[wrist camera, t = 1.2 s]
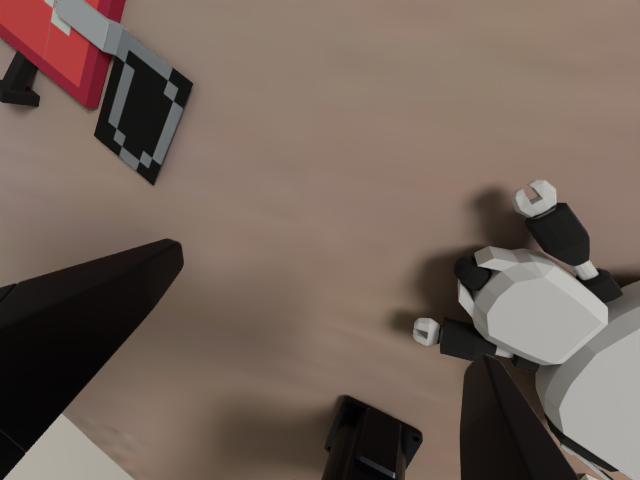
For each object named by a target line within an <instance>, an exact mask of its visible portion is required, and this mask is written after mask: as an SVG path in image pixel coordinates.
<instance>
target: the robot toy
mask: <svg viewBox="0 0 640 480" xmlns="http://www.w3.org/2000/svg"><path fill="white" fill-rule="evenodd" d="M527 185H529V186H530V187H531V188H532V189H533V191H534V192H535V193H536V194H537V196H538V197H536V198H534V199H532V200H530V201H529V199H528V198H527V196H526V195H525V193H524V190H523V188H519V189H518V190H516V191H515V192H514V194H513V196H512V198H511V200H512V203H513V206H514V208H515V211H516V212H518V213H520V214H522V215H524V216H526V217H528V218H527V219H525V225H526V227H527V228H528V230H529V231H530V232H531V234H532V235H533V237H534V238H535V239H536V241H537V242H538V244H539V245H540V246H541V248H542V249H543V251H544V252H546V253H548V254H549V255H551V256H553V257H555V258H557V259H559V260H561V261H563V262H565V263H567V264H569V265H571V266H572V268H573V269H574V271H575V272H576V273H577V275H578V276H576V277H575V276H573V275H572V274H571V273H570V272H568V271H567V270H566V269H565V268H563V267H562V266H561V265H559V264H558V263H556V262H555V261H553V260H552V259H550V258H549V257H548V256H546V255H545V254H543V253H542V252H538V251H533V250H529V249H524V248H522V249H515V250H508V249H503V248H497V247H492V246H487V247H485V248H483V249H481V250H479V251H477V252H475V253H474V254H475V257H472V256H463V257H461V258H460V259H459V260H458V261H457V262H456V264H455V265H454V269H453V271H454V274H455V276H456V277H457V278H458V285H457V286H458V299H459V302H460V304H461V305H462V306H463V307H464V308H465V310H466V311H467V312H468V313H469V314H470V316H471V317H472V319H473V322H474V324H472V323H467V322H462V321H457V320H452V319H447V318H444V321H443V327H442V326H441V325H440V324H438V323H437V322H435V321H434V320H432V319H431V318H418V319H417V320H416V321H415V323H414V331H413V337H414V339H415V341H417V342H419V343H421V344H423V345H425V346H428V345H434V344H439V343H440V353H441V354H445V355H449V356H454V357H458V358H462V359H466V360H470V361H474V360H475V359H476V358H477V357H478V356H479V355H480V354H487V355H490V356H493V355H499V356H503V357H507V358H510V359H511V361H512V362H513V364H514V366H515V367H518V368H522V369H526V370H530V371H535V372H536V391H537V393H538V396H539V399H540V401H541V404H542V407H543V409H544V414H545V417H546V419H547V422H548V425H549V427H550V430H551V431H552V433H553V434H554V435H555V436H556V437H557V439H558V440H559V441H560V445H561V447H562V448H563V449H564V450H566V451H567V452H568V453H569V454H571V455H576V456H577V457H578V458H579V459H580V460H582V461H583V462H584V463H585V464H587V465H588V466H589V467H590V468H591V469H593V470H594V471H595V472H596V473H597V474H599V475H600V476H601V477H602V478H604V479H605V480H613V479H612V478H611V477H610V476H609V475H607V474H606V473H605V472H604V471H602V470H601V469H600V468H599V467H598V466H600V467H602V468H604V469H606V470H608V471H610V472H615V471H621V472H622V473H624V474H625V475H627V476H628V477H630V478H631V479H633V480H640V280H639V281H637V282H634V283H632V284H630V285H627V286H625V287H623V288H620V287H619V286H618V284H617V283H616V281H615V280H614V279H613V277H612V276H611V275H610V273H609V272H608V271H606V270H603V269H599V268H595V267H594V266H593V265H592V263H591V262H590V260H589V252H590V248H589V236H588V233H587V231H586V230H585V228H584V227H583V226H582V224H581V223H580V221H579V220H578V219H577V217H576V216H575V214H574V213H573V212H572V210H571V209H570V208H569V206H568V205H567V203H557V202H556V189H555V188H554V187H553V186H552V185H550V184H549V183H548V182H547V181H545V180H534V181H532V182H530V183H528V184H527ZM417 329H419V330H417ZM595 464H596V465H598V466H596V465H595Z"/></svg>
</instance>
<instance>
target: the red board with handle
mask: <svg viewBox="0 0 640 480" xmlns="http://www.w3.org/2000/svg"><path fill="white" fill-rule="evenodd" d="M124 4H125V0H0V37H2V38H3V39H4V40H5V41H6V42H8V43H9V44H10V45H11V46H12V47H14V48H15V49H16V50H17V52H16V54H15V56H14V58H13V60H12V62H11V64H10V66H9V68H8V70H7V72H6V74H5V76H4V78H3V80H0V101H1V102H3V103H12V104H20V105H29V106H37V107H39V100H40V96H39V95H38V94H36V93H35V92H34V91H33V90H31V89H30V88H29V87H28V86H27V85H28V83H29V81H30V79H31V77H32V75H33V73H34V71H35V70H36V68H37V67H38V68H39V69H40V70H41V71H43V72H44V73H45V74H46V75H47V76H49V77H50V78H51V79H52V80H53V81H55V82H56V83H57V84H58V85H59V86H61V87H62V88H63V89H64V90H65V91H67V92H68V93H69V94H70V95H71V96H73V97H74V98H75V99H76V100H78V101H79V102H80V103H81V104H82V105H84V106H85V107H92V108H97V107H98V103H99V99H100V95H101V91H102V88H103V84H104V80H105V76H106V72H107V69H108V65H109V61H110V57H111V54H113V55H116V56H115V59H114V63H113V67H112V70H111V74H110V78H109V82H108V85H107V89H106V93H105V96H104V100H103V104H102V108H101V111H100V115H99V119H98V122H97V126H96V130H95V133H94V136H95V137H96V138H97V139H99V140H100V141H101V142H102V143H103V144H105V145H106V146H107V147H108V148H109V149H111V150H112V151H113V152H114V153H115V154H116V155H118V156H119V157H120V158H121V159H122V160H124V161H125V162H126V163H127V164H128V165H130V166H131V167H132V168H133V169H134V170H136V171H137V172H138V173H139V174H140V175H142V176H143V177H144V178H145V179H146V180H147V181H149V182H150V183H151V184H152V185H154V182H155V180H156V177H157V175H158V172H159V170H160V167H161V164H162V162H163V159H164V157H165V154H166V152H167V149H168V147H169V144H170V142H171V139H172V136H173V134H174V131H175V129H176V126H177V124H178V121H179V119H180V116H181V114H182V111H183V108H184V106H185V103H186V101H187V98H188V96H189V93H190V91H191V88H192V86H193V83H192V82H190V81H189V80H188V79H187V78H185V77H184V76H183V75H182V74H180V73H179V72H178V71H176V70H175V69H174V68H173V67H171V66H170V65H169V64H168V63H166V62H165V61H164V60H162V59H161V58H160V57H159V56H157V55H156V54H155V53H154V52H152V51H151V50H150V49H148V48H147V47H146V46H145V45H143V44H142V43H141V42H140V41H138V40H137V39H136V38H134V37H133V36H132V35H131V34H129V32H130V31H129V30H128V29H126V28H125V27H124V26H122V25H121V24H120V19H121V15H122V12H123V8H124Z"/></svg>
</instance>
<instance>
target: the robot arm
mask: <svg viewBox="0 0 640 480" xmlns="http://www.w3.org/2000/svg"><path fill="white" fill-rule="evenodd" d="M183 264H184V259H183V252H182V245H181V244H180V243H179V242H177V241H174V240H172V239H163V240H160V241H156V242H153V243H149V244H146V245H143V246H139V247H136V248H133V249H129V250H126V251H123V252H119V253H116V254H112V255H109V256H106V257H102V258H99V259H96V260H92V261H89V262H86V263H82V264H79V265H75V266H72V267H69V268H65V269H62V270H59V271H55V272H52V273H48V274H45V275H42V276H38V277H35V278H32V279H28V280H25V281H21V282H19V283H18V284H11V285H8V286H4V287H1V288H0V480H3V479H4V478H5V476H7V474H8V473H9V472H10V471H11V470H12V469H13V468H14V467H15V465H16V464H17V463H18V462H19V461H20V460H21V459H22V457H23V456H24V455H25V453H26V452H27V451H28V450H29V449H30V448H31V447H32V446H33V445H34V444H35V442H36V441H37V440H38V439H39V438H40V437H41V436H42V435H43V433H44V432H45V431H46V430H47V429H48V428H49V426H50V425H51V424H52V423H53V422H54V421H55V420H56V419H57V418H58V416H59V415H60V414H61V413H62V412H63V411H64V410H65V408H66V407H67V406H68V405H69V404H70V403H71V402H72V401H73V399H74V398H75V397H76V396H77V395H78V394H79V393H80V392H81V390H82V389H83V388H84V387H85V386H86V385H87V384H88V382H89V381H90V380H91V379H92V378H93V377H94V376H95V375H96V373H97V372H98V371H99V370H100V369H101V368H102V367H103V365H104V364H105V363H106V362H107V361H108V360H109V359H110V358H111V356H112V355H113V354H114V353H115V352H116V351H117V350H118V348H119V347H120V346H121V345H122V344H123V343H124V342H125V341H126V339H127V338H128V337H129V336H130V335H131V334H132V333H133V332H134V330H135V329H136V328H137V327H138V326H139V325H140V324H141V322H142V321H143V320H144V319H145V318H146V317H147V316H148V314H149V313H150V312H151V311H152V310H153V308H154V307H155V306H156V305H157V303H158V302H159V300H160V299H161V298H162V296H163V295H164V293H165V292H166V291H167V289H168V288H169V287H170V285H171V284H172V282H173V281H174V280H175V278H176V277H177V275H178V274H179V273H180V271H181V270H182V268H183ZM348 403H349V404H348ZM415 436H416V437H415ZM422 441H423V435H422V433H421V432H420V431H419V430H417V429H415V428H413V427H411V426H409V425H407V424H405V423H403V422H401V421H399V420H397V419H395V418H392V417H390V416H388V415H386V414H384V413H382V412H380V411H378V410H376V409H374V408H372V407H370V406H368V405H366V404H364V403H361V402H359V401H357V400H355V399H353V398H351V397H344V399H343V401H342V403H341V406H340V408H339V411H338V413H337V416H336V418H335V421H334V423H333V426H332V428H331V431H330V434H329V436H328V439H327V441H326V444H325V450H326V451H327V452H329V453H330V454H329V457H328V460H327V463H326V466H325V470H324V473H323V476H322V479H321V480H405V470H406V469H407V467H408V465H409V464H410V462H411V460H412V458H413V457H414V455H415V453H416V452H417V450H418V448H419V447H420V445H421V443H422ZM460 463H461V480H580V479H579V477H578V476H577V474H576V473H575V471H574V470H573V468H572V467H571V465H570V464H569V463H568V461H567V460H566V458H565V457H564V455H563V454H562V452H561V451H560V449H559V448H558V446H557V445H556V443H555V442H554V440H553V439H552V437H551V436H550V434H549V433H548V431H547V430H546V428H545V427H544V425H543V424H542V422H541V421H540V419H539V418H538V416H537V415H536V413H535V412H534V410H533V409H532V407H531V406H530V404H529V403H528V401H527V400H526V398H525V397H524V395H523V394H522V392H521V391H520V389H519V388H518V386H517V385H516V383H515V382H514V380H513V379H512V378H511V376H510V375H509V373H508V372H507V370H506V369H505V367H504V366H503V364H502V363H501V361H500V360H499V359H497V358H495V357H492V356H490V355H487V354H480V355H479V356H478V357H477V358H476V359H475V360H474V361H473V362H472V363H471V365H470V366H469V367H468V368H467V369H466V371H465V374H464V383H463V396H462V409H461V421H460Z"/></svg>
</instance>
